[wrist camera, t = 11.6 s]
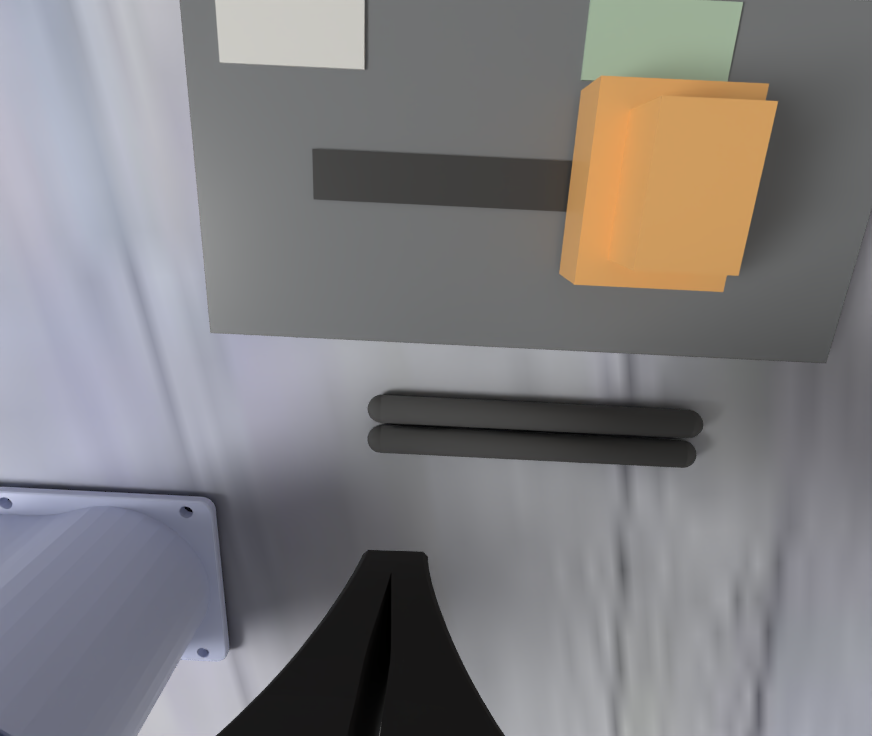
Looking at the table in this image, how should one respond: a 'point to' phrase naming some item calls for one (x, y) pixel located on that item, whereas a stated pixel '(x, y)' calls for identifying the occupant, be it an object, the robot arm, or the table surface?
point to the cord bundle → (533, 419)
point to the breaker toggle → (664, 181)
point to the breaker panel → (507, 169)
